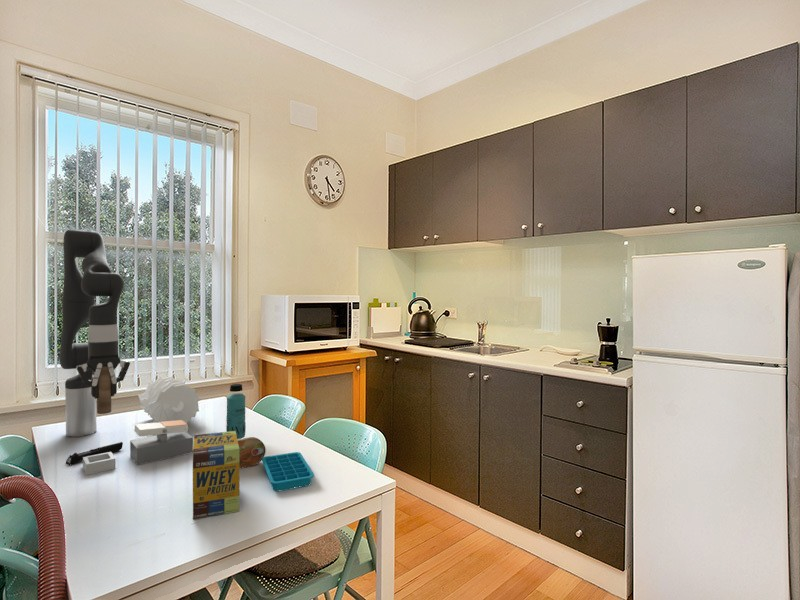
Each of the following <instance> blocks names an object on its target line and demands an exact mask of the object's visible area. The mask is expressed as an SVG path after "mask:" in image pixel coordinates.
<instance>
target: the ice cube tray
mask: <svg viewBox="0 0 800 600" xmlns="http://www.w3.org/2000/svg"><path fill="white" fill-rule="evenodd" d="M261 462H262V464H263V467H264V470H265V472H266V474H267V477H268V479H269V482H270V484H271V487H272V490H273V492H274V491H275V492H280V491H279V490H282V491H286V490H285V489H287V490H291V489H290V488H293V489H295V488H294V487H298V488H300V487H299V486H304V487H306V486H305V485H309V484H310V483H312V478H314V477H315V473H314V472H313V470H312V469H311V467H310V465H309V464H308V462H307V460H306V459H305V458H304V456H303V454H302V453H301V452H298V451H293V452H289V453H282V454H281V453H280V454H274V455H268V456H264V457H263V458H262V461H261ZM310 485H311V484H310ZM310 485H309V486H310Z"/></svg>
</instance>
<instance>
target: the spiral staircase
mask: <svg viewBox="0 0 800 600" xmlns="http://www.w3.org/2000/svg"><path fill="white" fill-rule="evenodd" d="M196 391H197V390H196V388H194V387H193V388H192V387H190V386H188V385H187V384H186V382H185V381H182V380H179V379H176V378H174V376H167V377H164V378H162V376H159V377H158V378H157V379H156V380H154V381H153V382H151V383H148V385H147V387H146V389H145V391H144V393H141V394H138V395H137V396H138V398H139V402H140V403H141V405H140V406H139V407H140V409H143V410H144V411H143V412H144V413H146V414H147V416H149V417H150V418H151V419H152V423H159V422H164V421H175V420H182V421H184V422H185V423H186V424H187V425H188V422H190V420H191V419H192V418H196V416H197V412H200V409H199V407H200V406H199V402H200V400H201V398H200V397H199V396H198V395H197V393H196Z"/></svg>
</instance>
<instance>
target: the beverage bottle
mask: <svg viewBox="0 0 800 600" xmlns="http://www.w3.org/2000/svg"><path fill="white" fill-rule="evenodd" d="M242 391H243V384H242V383H232V384H230V387H229V392H232V393H230V394H229V395H228V396H226V419H225V421H226V428H225V431H226V432H229V431H236V435H237V439H243V438H246V429H247V428H246V427H247V426H246V395H245V394H243V393H242Z"/></svg>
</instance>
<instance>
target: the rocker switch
mask: <svg viewBox="0 0 800 600" xmlns="http://www.w3.org/2000/svg"><path fill="white" fill-rule="evenodd" d="M188 431H189V425H188V423H187V424H186V423H185V422H184V421H182V420H175V421H164V422H159V423H158V422H149V423H147V422H146V423H137V424H134V432H135V433H136V434H137V436H138V437H150V436H155V435H158V434H168V433H177V432H187V433H188Z"/></svg>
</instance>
